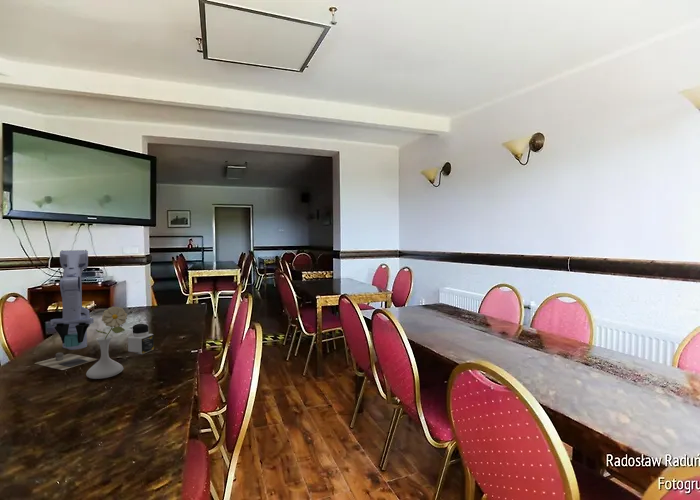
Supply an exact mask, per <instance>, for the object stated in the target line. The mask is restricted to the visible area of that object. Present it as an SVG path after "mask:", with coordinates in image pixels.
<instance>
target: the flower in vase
mask: <svg viewBox="0 0 700 500" xmlns="http://www.w3.org/2000/svg"><path fill="white" fill-rule="evenodd" d="M127 317H128V313H127V312H126V311H125V310H124V308H123V307H119V306H111V307H108V308H107V309H105V310H104V311H103V313H102V316H101V321H102V322H103V324H105V326H106V327H110V329H109V331H108V332H106V331H102V330H98V329H95V331H96V332H97V333H101V334H105V335H106V336H99V337H97V338H95V340H96V341H97V343H98V345H99V348H100V358H99V359H98V361H96V362H95V363H94V364H93V365H92V366H91V367H90V368H89V369H88V370H87V371H86V373H85V375H86V377H87V378H89V379H93V380H97V379H98V380H99V379H100V380H101V379H107V378H111V377H115V376H117V375H119V374H120V373H122V372H123V371H124V366H123V364H121V363H119V362H117V361H116V360H114V359H112V358H110V354H109V347H110V346H109V345H110V342H111V340H112V339H113V336H110V333H111V331H112V332H113V333H115V334H120V333H123V332H125V331H126V329H125V328H123V327H122V326H123V325H124V324H126V322H127Z"/></svg>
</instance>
